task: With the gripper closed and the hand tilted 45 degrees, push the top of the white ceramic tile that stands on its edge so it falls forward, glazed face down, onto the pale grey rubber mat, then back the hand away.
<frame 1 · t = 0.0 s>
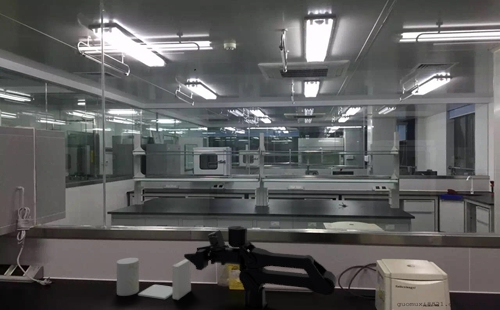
hand: (190, 252, 120), 17 cm above the countertop, tool horizontal, fingers open, 9 cm apart
mat: (159, 292, 124), on the countertop
grey upright cylinder: (127, 292, 125), on the countertop
tile: (182, 294, 122), on the countertop
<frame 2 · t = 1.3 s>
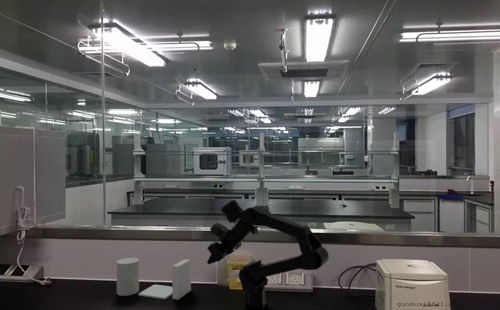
hand: (211, 261, 118), 14 cm above the countertop, tool tilted 45°, fingers open, 5 cm apart
nothing on the countertop moved.
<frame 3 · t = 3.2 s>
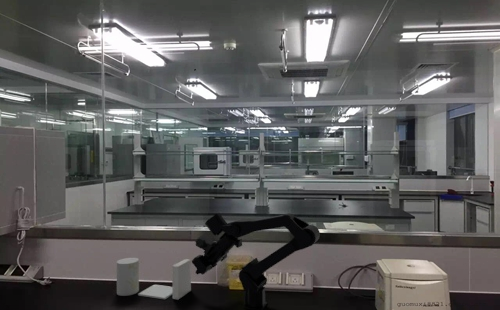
hand: (196, 273, 120), 9 cm above the countertop, tool tilted 45°, fingers closed
nothing on the countertop moved.
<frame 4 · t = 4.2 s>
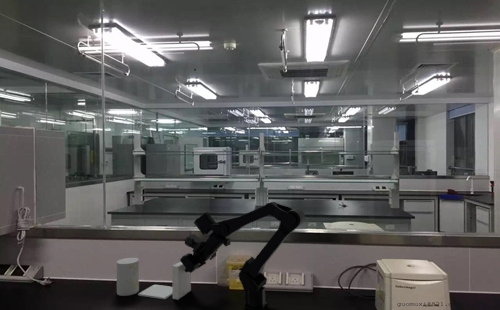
hand: (185, 271, 121), 9 cm above the countertop, tool tilted 45°, fingers closed
nothing on the countertop moved.
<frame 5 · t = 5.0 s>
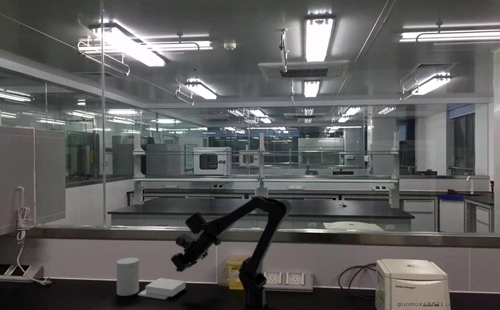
hand: (177, 270, 123), 9 cm above the countertop, tool tilted 45°, fingers closed
tile: (179, 288, 122), point 2 cm above the countertop, tilted 90°, touching mat
everything else where it was.
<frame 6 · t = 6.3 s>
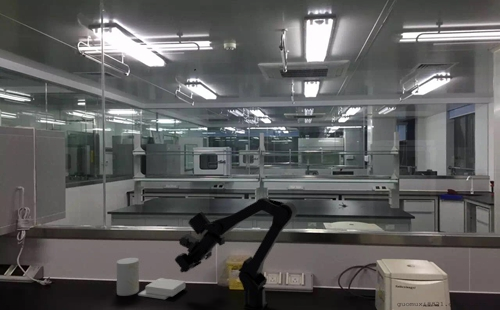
hand: (181, 271, 122), 9 cm above the countertop, tool tilted 45°, fingers closed
nothing on the countertop moved.
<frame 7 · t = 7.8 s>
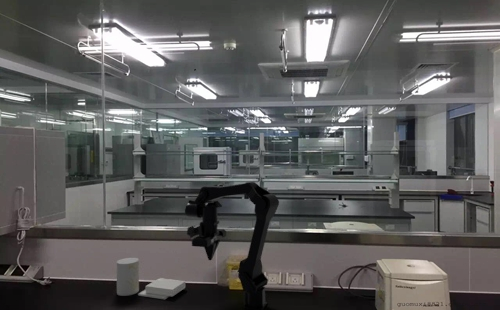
hand: (210, 260, 121), 13 cm above the countertop, tool pointing down, fingers closed
nothing on the countertop moved.
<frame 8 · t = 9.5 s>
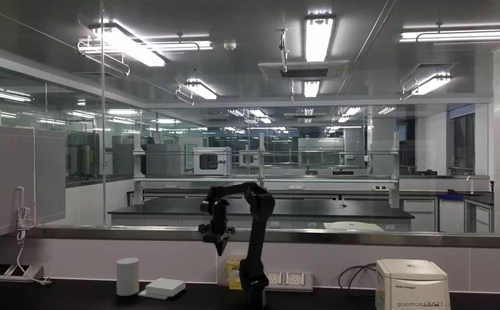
hand: (220, 256, 126), 13 cm above the countertop, tool pointing down, fingers closed
nothing on the countertop moved.
at the end: tile tilted 90°; tile inside the target area (7.3 cm from its centre), point 2.0 cm above the countertop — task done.
